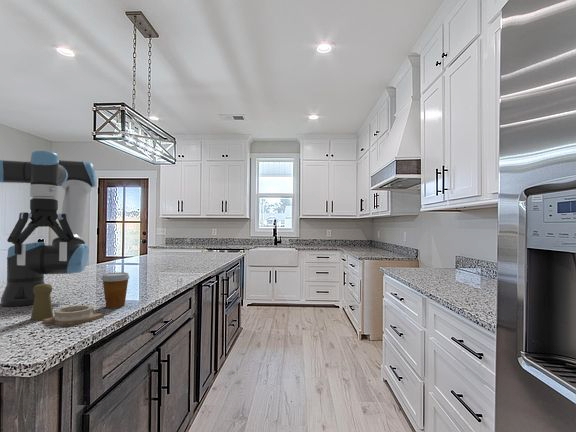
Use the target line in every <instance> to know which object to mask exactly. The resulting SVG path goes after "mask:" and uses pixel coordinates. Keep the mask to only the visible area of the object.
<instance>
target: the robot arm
mask: <svg viewBox="0 0 576 432" xmlns="http://www.w3.org/2000/svg"><path fill="white" fill-rule="evenodd" d="M30 154H31V156H30V161H19V160H18V161H17V160H4V159H3V160H2V159H0V183H1V184H2V183H5V184H6V183H9V184H10V183H14V184H18V183H19V184H30V186H29V189H30V190H29V196H30V197H31V199H29V209H30V213H29V212H20V213H19V215H18V220H17V222H16V224H15V225H14V227H13V229H12V231H11V232H10V234H9V236H8V238H7V242H8V243H11V244H13V245H11V246H10V247H8V250H7V256H6V284H5V288H4V290H3V292H2V296H1V298H0V306H2V307H22V306H23V307H24V306H31V305H32V306H33V304H34V298H35V294H34V293H33V288H34V286H36V285H39V284H46V283H45V280H44V279H45V275H67V274H68V275H71V274H78V273H82V272H83V271H85V268H86V266H87V263H88V259H89V254H90V253H89V250H90V249H89V246H88V245H87V244H86V242H85V240H84V239H83V238H82V236H83V228H84V219H85V211H86V203H87V195H88V194H90V192H91V191H92V188H95V187H96V186H97V177H96V171H95V166H94V164H93V163H92V162H90V161H84V160H82V161H79V160H78V161H75V160H62V159H61V160H59V154H58V153H55V152H54V151H48V150H34V151H32V152H31V153H30ZM60 186H61V189H62V190H64V194H63V200H62V208H61V212H60V213H57V211H58V209H59V201H58V198H59V187H60ZM29 219H30V220H31V221H30V222H29V223H28V220H29ZM27 223H28V224H27ZM26 224H27V226H26ZM39 227H45V228H46V227H49V228H50V229H51V230H52V231H53V232H54V233H55V234H56V235H57V237H54V238H53V239H52V241H51V244H47V245H46V243H45V242H44V241H36V242H32V243H31V242H30V243H24V242H25V241H26V240H27V239H28V238H29V236H31V235H32V233H33V232H34V231H35V230H36V229H37V228H39Z"/></svg>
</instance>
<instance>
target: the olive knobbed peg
mask: <svg viewBox="0 0 576 432" xmlns="http://www.w3.org/2000/svg"><path fill="white" fill-rule="evenodd" d="M52 292H53V286H52V284H50V283H45V284H39V285H36V286H34V288H33V293H34V294H35V298H34V304H32V310H31V311H32V312H31V317H30V320H31V321H42V320H43V319H47V318H51V317H54V310H53V304H52V298H51V293H52Z"/></svg>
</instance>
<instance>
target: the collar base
mask: <svg viewBox="0 0 576 432" xmlns="http://www.w3.org/2000/svg"><path fill="white" fill-rule="evenodd" d="M104 317H105V314H104V313H98V312H94V306H92V305H89V304H77V305H76V304H75V305H68V306H63V307H58V308H57V309H54V310H53V317H51V318H47V319H43V320H41V321H42V322H41V323H42V324H47V325H55V326H61V327H67V328H71V327H74V326H79V325H82V324H85V323H88V322H92V321H95V320H98V318H99V319H102V318H104Z"/></svg>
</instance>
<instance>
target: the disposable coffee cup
mask: <svg viewBox="0 0 576 432" xmlns="http://www.w3.org/2000/svg"><path fill="white" fill-rule="evenodd" d="M101 276H102V277H101V281H102V284H103V293H104V295H103V296H104V301H105V302H104V303H105V307H106V308H107V309H117V308H122V307H124V306H125V304H126V297H127V291H128V283H129V279H130V274H129V272H123V271H122V272H118V271H117V272H107V273H103V274H102V275H101Z"/></svg>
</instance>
